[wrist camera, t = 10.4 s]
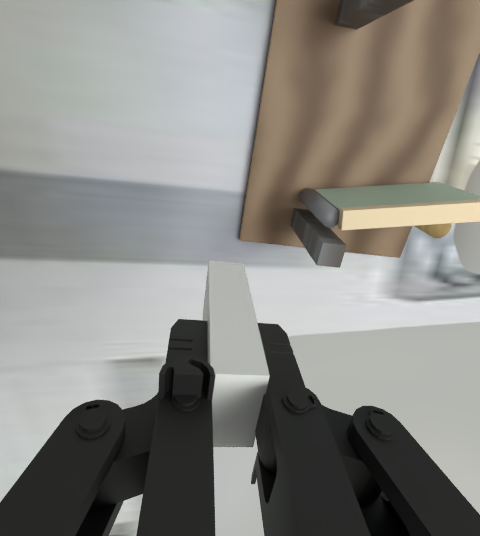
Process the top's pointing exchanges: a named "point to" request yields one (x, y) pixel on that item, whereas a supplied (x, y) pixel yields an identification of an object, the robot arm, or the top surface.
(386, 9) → the gate frame
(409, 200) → the bar
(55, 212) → the top surface
